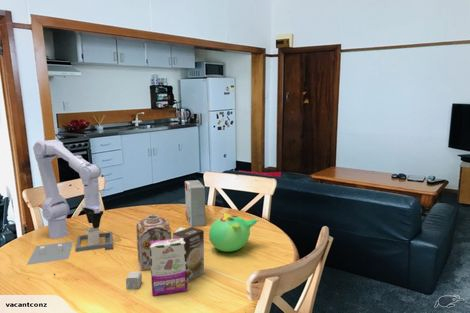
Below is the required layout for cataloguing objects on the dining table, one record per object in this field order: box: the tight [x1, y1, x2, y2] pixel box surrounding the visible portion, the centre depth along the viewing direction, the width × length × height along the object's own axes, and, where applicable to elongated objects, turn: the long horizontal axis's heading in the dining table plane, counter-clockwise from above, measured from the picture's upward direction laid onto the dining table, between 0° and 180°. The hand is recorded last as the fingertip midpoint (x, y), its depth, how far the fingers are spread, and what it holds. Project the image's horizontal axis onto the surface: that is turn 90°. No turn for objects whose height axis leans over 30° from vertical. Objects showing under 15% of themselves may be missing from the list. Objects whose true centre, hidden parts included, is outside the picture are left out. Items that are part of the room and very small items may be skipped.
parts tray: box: [75, 231, 114, 253], centre depth 148 cm, size 14×14×2 cm
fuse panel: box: [26, 241, 74, 266], centre depth 138 cm, size 18×14×4 cm
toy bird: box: [208, 212, 259, 252], centre depth 142 cm, size 18×17×15 cm
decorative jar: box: [136, 214, 173, 272], centre depth 130 cm, size 12×12×18 cm
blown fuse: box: [86, 226, 101, 246], centre depth 147 cm, size 3×4×7 cm
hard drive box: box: [184, 179, 207, 228], centre depth 175 cm, size 16×8×20 cm, turn 17°
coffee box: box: [172, 226, 205, 283], centre depth 120 cm, size 9×6×16 cm
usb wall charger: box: [125, 270, 143, 290], centre depth 113 cm, size 4×7×4 cm, turn 2°
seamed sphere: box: [174, 226, 187, 233], centre depth 149 cm, size 10×7×7 cm
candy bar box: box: [150, 238, 188, 297], centre depth 111 cm, size 11×5×16 cm, turn 105°
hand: (93, 225), depth 146 cm, fingers open, 7 cm apart
